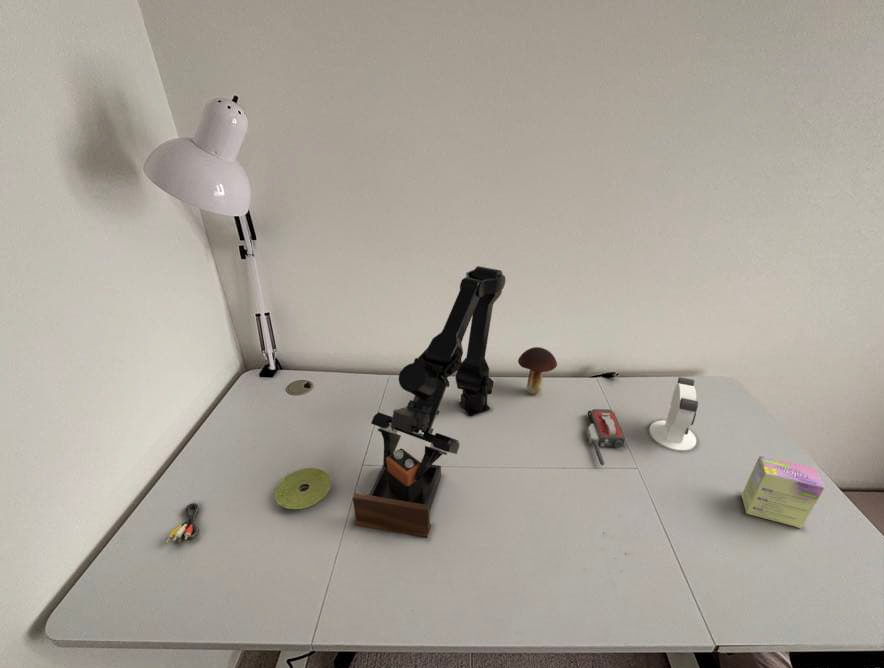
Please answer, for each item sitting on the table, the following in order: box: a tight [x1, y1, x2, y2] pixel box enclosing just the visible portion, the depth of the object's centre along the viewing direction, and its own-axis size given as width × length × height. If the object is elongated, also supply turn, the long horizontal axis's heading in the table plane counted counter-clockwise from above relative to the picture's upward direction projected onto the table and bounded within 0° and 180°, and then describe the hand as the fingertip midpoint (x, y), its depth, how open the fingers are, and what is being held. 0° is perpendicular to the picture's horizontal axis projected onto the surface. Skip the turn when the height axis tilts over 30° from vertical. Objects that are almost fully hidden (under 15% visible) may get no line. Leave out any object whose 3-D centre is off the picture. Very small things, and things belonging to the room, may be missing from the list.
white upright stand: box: [648, 376, 699, 452], centre depth 110 cm, size 12×11×15 cm
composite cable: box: [165, 502, 201, 544], centre depth 85 cm, size 10×5×2 cm, turn 10°
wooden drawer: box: [352, 464, 442, 539], centre depth 91 cm, size 16×15×7 cm
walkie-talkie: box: [586, 408, 626, 466], centre depth 110 cm, size 9×4×20 cm
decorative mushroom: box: [517, 346, 558, 395], centre depth 125 cm, size 11×11×15 cm
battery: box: [386, 448, 423, 502], centre depth 91 cm, size 4×7×10 cm, turn 48°
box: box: [741, 455, 826, 529], centre depth 90 cm, size 10×6×12 cm, turn 71°
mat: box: [274, 467, 332, 510], centre depth 93 cm, size 11×11×2 cm
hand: (400, 473), depth 90 cm, fingers closed on battery, 7 cm apart
